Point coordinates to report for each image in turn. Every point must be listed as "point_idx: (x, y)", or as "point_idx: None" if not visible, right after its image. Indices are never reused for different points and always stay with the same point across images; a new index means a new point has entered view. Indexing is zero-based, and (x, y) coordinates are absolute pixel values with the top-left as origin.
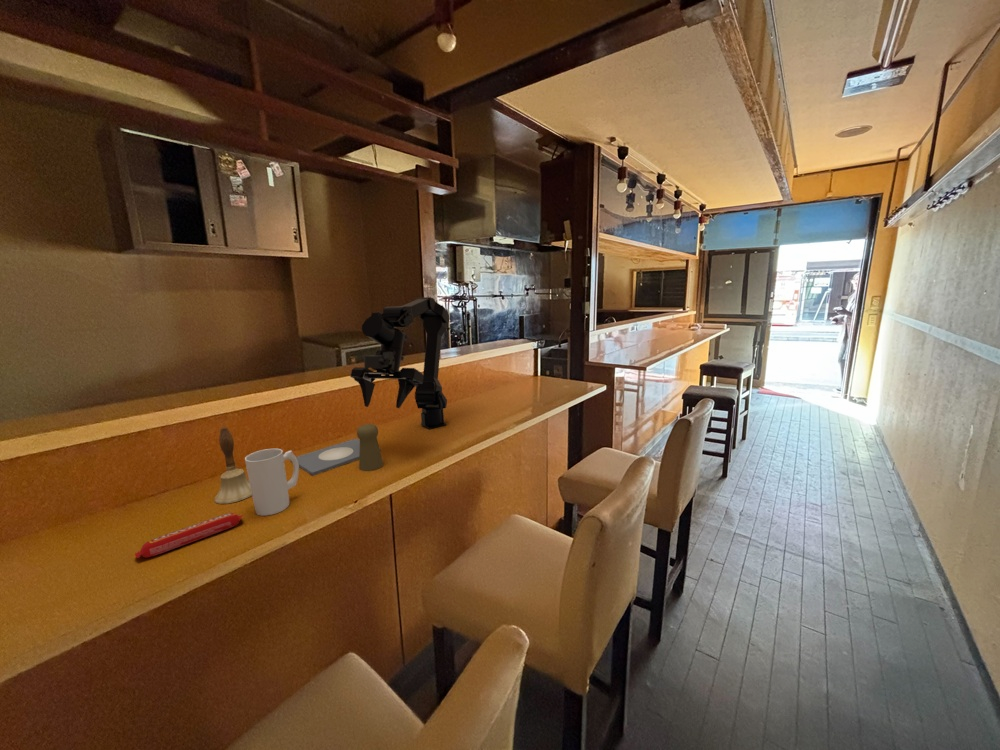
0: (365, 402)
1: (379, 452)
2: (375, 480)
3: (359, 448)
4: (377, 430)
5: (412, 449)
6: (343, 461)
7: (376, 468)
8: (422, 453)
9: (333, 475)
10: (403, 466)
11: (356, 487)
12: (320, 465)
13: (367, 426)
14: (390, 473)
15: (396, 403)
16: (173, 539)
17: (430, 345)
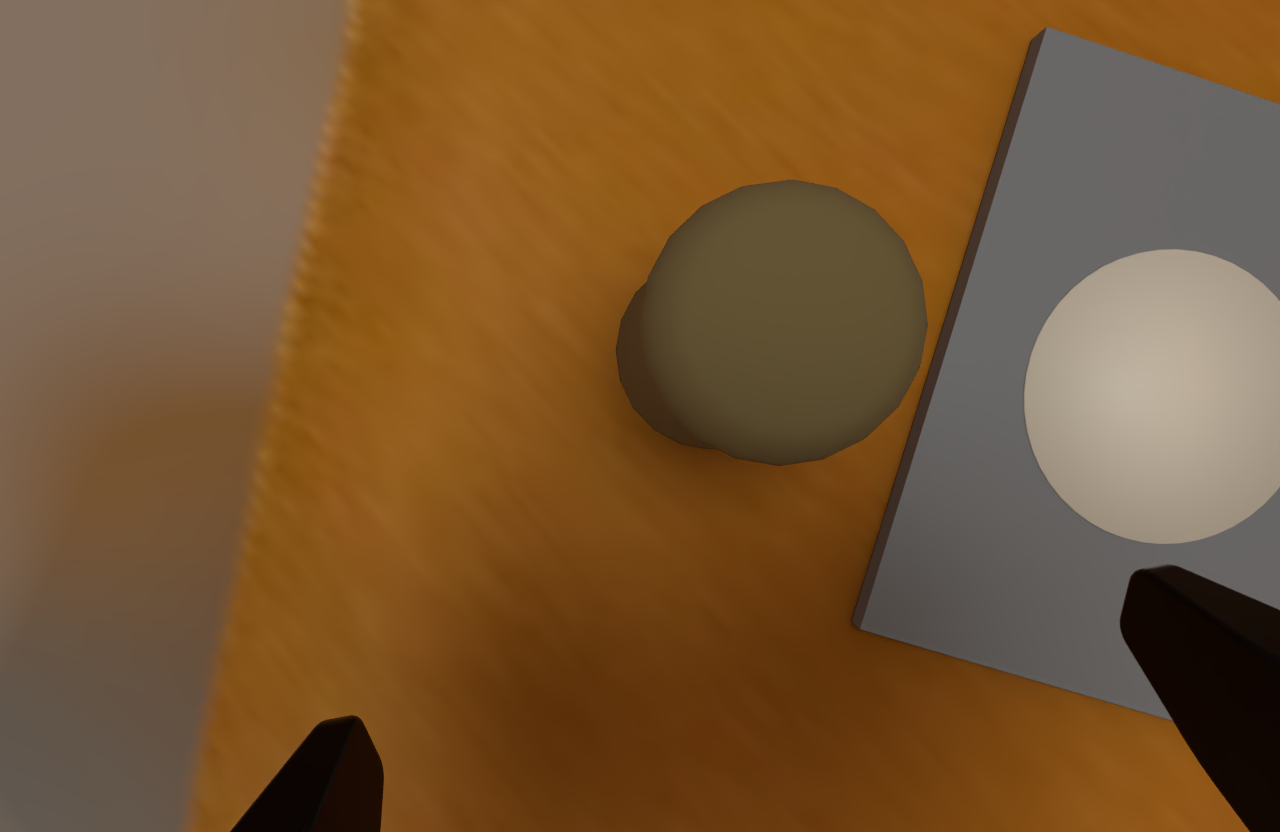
0: (1218, 607)
1: (644, 384)
2: (489, 155)
3: (1056, 569)
4: (657, 386)
5: (611, 767)
6: (971, 290)
7: (624, 315)
8: (467, 724)
9: (877, 104)
10: (449, 443)
11: (544, 10)
12: (1098, 157)
13: (762, 287)
14: (462, 297)
15: (323, 782)
16: None
17: None
